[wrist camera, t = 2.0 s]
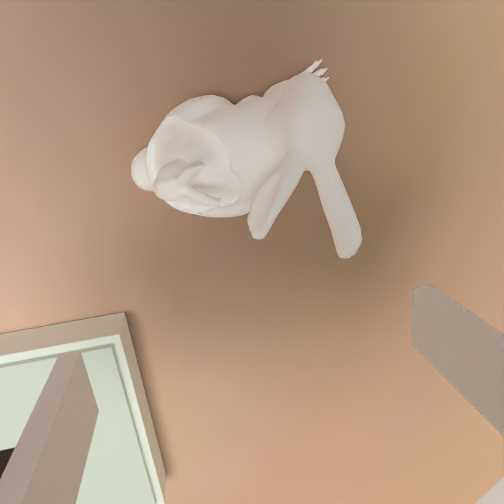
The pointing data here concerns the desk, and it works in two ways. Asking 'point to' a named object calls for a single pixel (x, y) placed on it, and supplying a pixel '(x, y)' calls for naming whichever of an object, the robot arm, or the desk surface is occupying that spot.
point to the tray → (107, 398)
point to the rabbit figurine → (252, 156)
